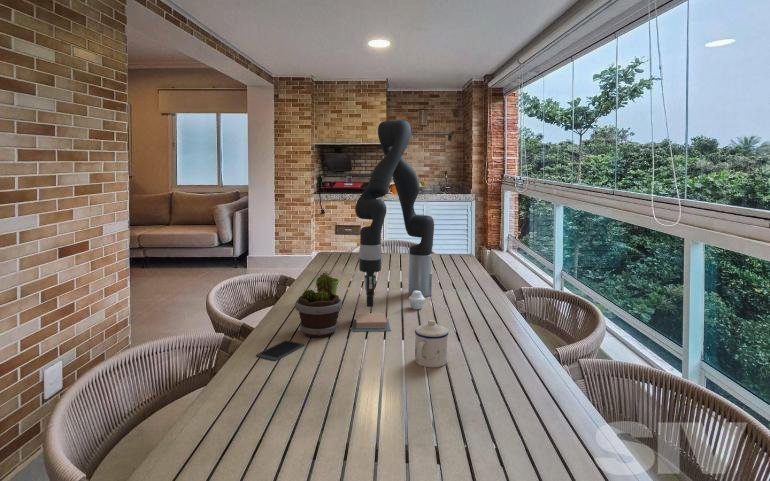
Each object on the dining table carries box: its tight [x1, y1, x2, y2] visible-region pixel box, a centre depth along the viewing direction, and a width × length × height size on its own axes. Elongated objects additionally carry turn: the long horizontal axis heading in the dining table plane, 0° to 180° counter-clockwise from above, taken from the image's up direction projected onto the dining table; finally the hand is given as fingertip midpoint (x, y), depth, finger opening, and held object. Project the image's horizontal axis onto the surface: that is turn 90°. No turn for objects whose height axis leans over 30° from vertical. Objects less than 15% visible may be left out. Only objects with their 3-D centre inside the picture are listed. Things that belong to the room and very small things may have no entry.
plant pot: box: [314, 277, 340, 295], centre depth 190 cm, size 9×9×9 cm
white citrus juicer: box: [408, 291, 426, 310], centre depth 183 cm, size 6×6×7 cm
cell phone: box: [255, 340, 305, 362], centre depth 140 cm, size 7×14×1 cm, turn 153°
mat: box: [352, 318, 392, 333], centre depth 163 cm, size 12×12×1 cm
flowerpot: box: [294, 269, 343, 338], centre depth 154 cm, size 14×15×20 cm
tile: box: [355, 312, 387, 328], centre depth 164 cm, size 10×2×10 cm
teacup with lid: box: [414, 319, 449, 368], centre depth 131 cm, size 12×9×12 cm
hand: (369, 306), depth 169 cm, fingers closed
